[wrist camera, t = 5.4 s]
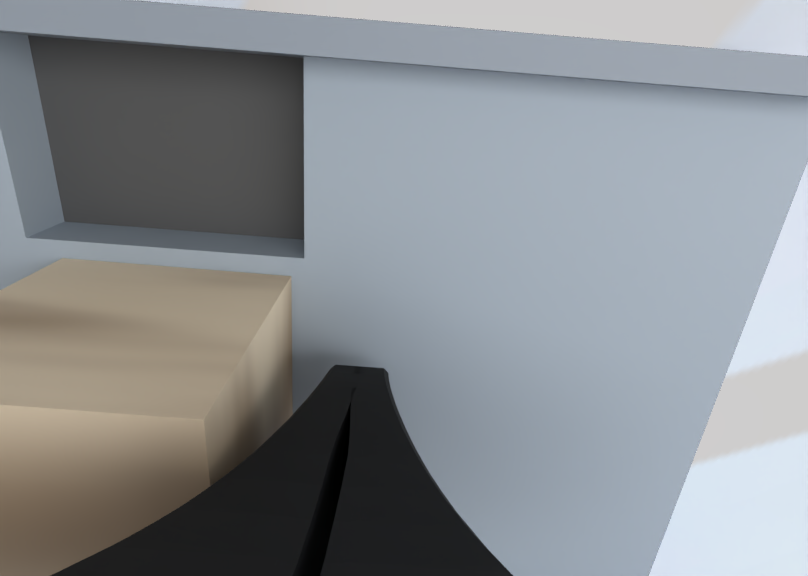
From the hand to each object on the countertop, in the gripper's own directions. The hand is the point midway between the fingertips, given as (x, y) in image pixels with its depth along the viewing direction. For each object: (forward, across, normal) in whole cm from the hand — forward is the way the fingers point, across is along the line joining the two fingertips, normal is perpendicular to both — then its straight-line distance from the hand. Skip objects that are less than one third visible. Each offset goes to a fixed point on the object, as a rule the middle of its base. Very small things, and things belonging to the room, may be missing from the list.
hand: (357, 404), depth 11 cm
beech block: (+1, +4, 0) cm, 4 cm away
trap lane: (+2, +3, 0) cm, 4 cm away
